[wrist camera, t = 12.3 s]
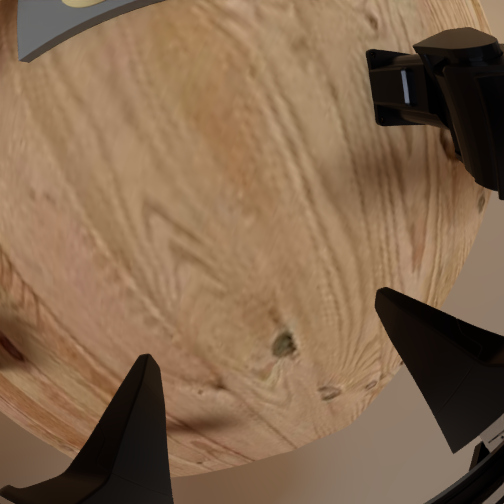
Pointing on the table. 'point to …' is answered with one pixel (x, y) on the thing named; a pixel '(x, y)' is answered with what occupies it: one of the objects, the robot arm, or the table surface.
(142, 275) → the table surface
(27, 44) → the board
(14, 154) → the table surface
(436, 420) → the robot arm
